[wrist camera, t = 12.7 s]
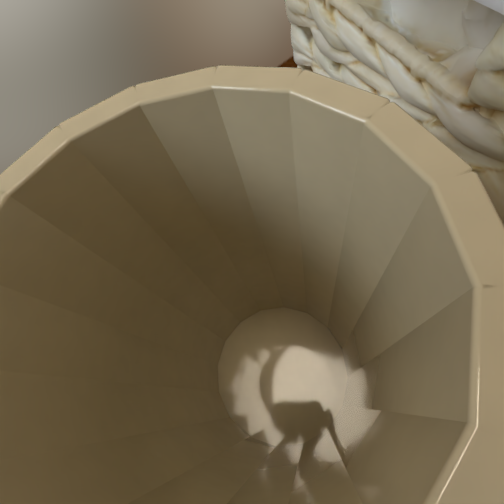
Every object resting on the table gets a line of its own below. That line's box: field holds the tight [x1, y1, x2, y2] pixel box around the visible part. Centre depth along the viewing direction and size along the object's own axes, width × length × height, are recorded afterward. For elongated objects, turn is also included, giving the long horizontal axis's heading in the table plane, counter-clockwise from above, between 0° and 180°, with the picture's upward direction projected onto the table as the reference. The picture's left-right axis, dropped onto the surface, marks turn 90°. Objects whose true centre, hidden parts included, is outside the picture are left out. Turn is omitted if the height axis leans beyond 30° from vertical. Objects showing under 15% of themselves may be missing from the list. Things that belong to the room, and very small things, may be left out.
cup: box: [0, 65, 504, 504], centre depth 9 cm, size 7×7×13 cm
